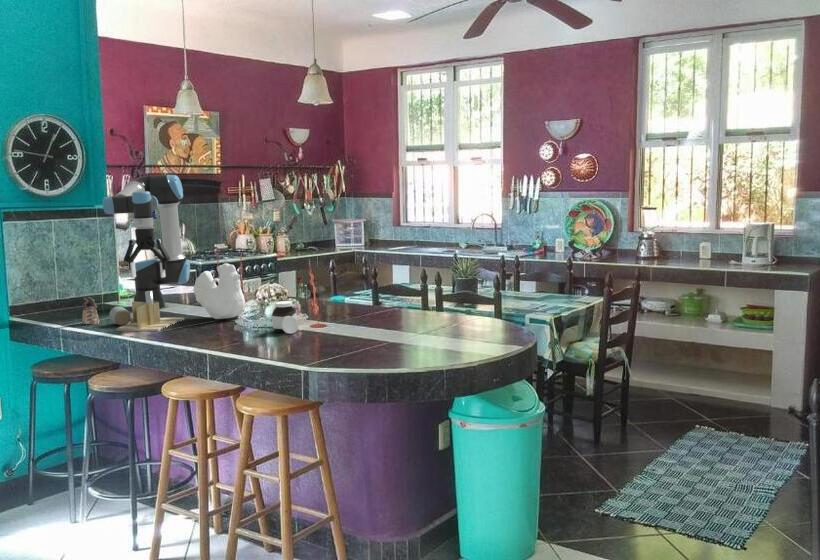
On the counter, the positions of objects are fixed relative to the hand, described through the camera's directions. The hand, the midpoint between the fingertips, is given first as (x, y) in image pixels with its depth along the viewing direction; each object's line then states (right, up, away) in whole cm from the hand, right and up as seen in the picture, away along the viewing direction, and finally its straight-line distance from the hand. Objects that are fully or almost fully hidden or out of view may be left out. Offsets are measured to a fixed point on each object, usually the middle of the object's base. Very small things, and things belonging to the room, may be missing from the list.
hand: (148, 277), depth 333 cm
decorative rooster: (+27, -18, +16) cm, 37 cm away
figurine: (-30, -21, +13) cm, 39 cm away
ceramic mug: (-14, -21, +9) cm, 27 cm away
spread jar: (+63, -22, -20) cm, 70 cm away
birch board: (0, -21, +4) cm, 21 cm away
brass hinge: (-3, -20, 0) cm, 21 cm away
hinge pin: (+1, -20, +2) cm, 20 cm away
